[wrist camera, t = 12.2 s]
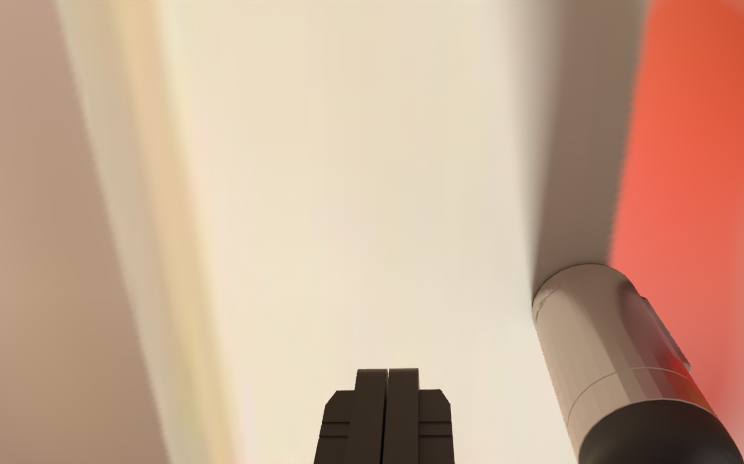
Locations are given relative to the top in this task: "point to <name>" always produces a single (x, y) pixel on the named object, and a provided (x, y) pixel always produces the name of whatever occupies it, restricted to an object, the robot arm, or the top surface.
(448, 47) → the top surface
